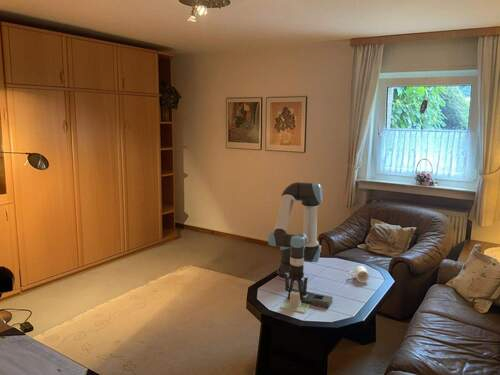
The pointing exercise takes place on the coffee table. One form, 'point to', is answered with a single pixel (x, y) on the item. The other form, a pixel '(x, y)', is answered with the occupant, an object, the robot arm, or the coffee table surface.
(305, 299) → the panel
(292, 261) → the robot arm
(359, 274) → the mug
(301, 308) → the tray
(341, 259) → the coffee table surface
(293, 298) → the plug
